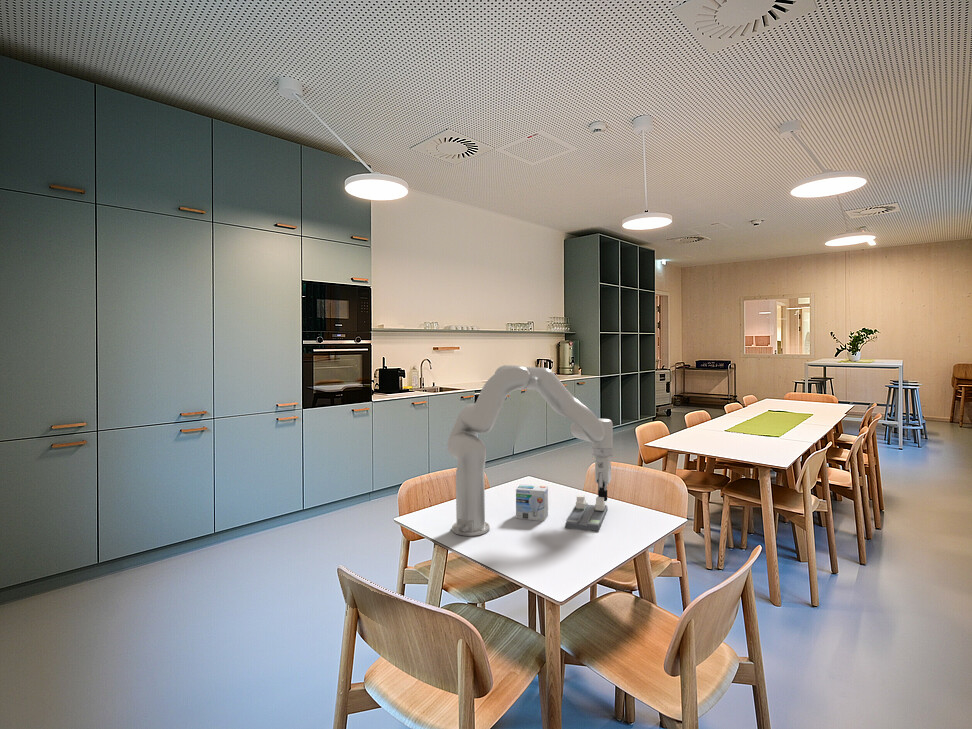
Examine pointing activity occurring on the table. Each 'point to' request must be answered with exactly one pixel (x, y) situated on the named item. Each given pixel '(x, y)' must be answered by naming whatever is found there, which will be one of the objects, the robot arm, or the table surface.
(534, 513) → the light bulb box
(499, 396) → the robot arm
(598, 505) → the tab
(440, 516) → the table surface
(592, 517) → the switch board
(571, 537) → the table surface
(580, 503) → the tab
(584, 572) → the table surface
